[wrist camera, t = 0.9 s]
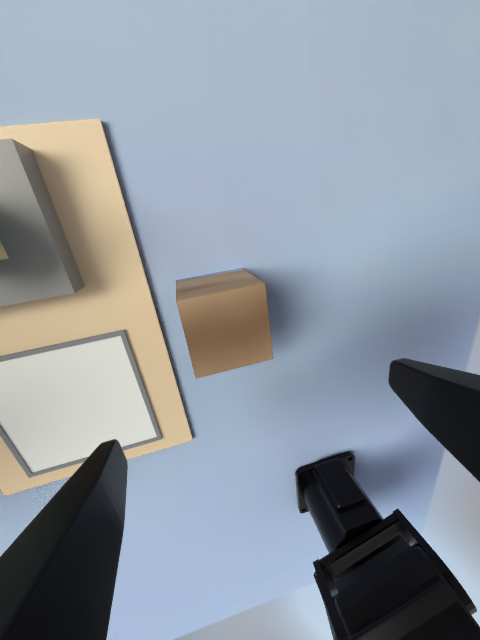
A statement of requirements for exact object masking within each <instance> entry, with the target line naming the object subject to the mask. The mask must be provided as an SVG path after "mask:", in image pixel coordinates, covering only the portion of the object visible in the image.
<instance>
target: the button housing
mask: <svg viewBox="0 0 480 640" xmlns="http://www.w3.org/2000/svg"><path fill="white" fill-rule="evenodd" d="M0 241H1V243H2V245H3V247H4V249H5V252H6V254H7V256H8V259H2V260H0V307H3V306H8V305H13V304H19V303H24V302H30V301H35V300H40V299H46V298H51V297H56V296H62V295H67V294H72V293H76V292H77V291H79V290H80V289H81V288H83V287H84V286H85V285H84V282H83V280H82V277H81V274H80V272H79V269H78V267H77V264H76V262H75V259H74V256H73V254H72V251H71V249H70V246H69V243H68V241H67V238H66V236H65V233H64V231H63V228H62V225H61V223H60V220H59V218H58V215H57V213H56V210H55V207H54V205H53V202H52V200H51V197H50V194H49V192H48V189H47V187H46V184H45V182H44V179H43V176H42V174H41V171H40V169H39V166H38V164H37V161H36V158H35V156H34V153H33V151H32V149H31V148H29V147H27V146H25V145H23V144H21V143H19V142H17V141H15V140H14V139H12V138H11V139H0Z"/></svg>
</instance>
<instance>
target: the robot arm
mask: <svg viewBox="0 0 480 640" xmlns="http://www.w3.org/2000/svg"><path fill="white" fill-rule="evenodd" d="M389 385H390V387H391V388H392V390H393V391H394V392H395V393H396V394H397V395H398V397H399V398H400V399H401V400H402V401H403V402H404V404H405V405H406V406H407V407H408V408H409V410H410V411H411V412H412V413H413V414H414V415H415V417H416V418H417V419H418V420H419V421H420V422H421V424H422V425H423V426H424V427H425V428H426V429H427V430H428V431H429V432H430V433H431V434H432V435H433V436H434V437H435V438H436V439H437V440H438V441H439V442H440V443H441V444H442V445H443V446H444V447H445V448H446V449H447V450H448V451H449V452H450V453H451V454H452V455H453V456H454V457H455V458H456V459H457V460H458V461H459V462H460V463H461V464H462V465H463V466H464V467H465V468H466V469H467V470H468V471H469V472H470V473H471V474H472V475H473V476H474V477H475V478H476V479H477V480H478V481H479V482H480V375H477V374H472V373H468V372H463V371H459V370H454V369H450V368H445V367H441V366H437V365H432V364H428V363H423V362H419V361H414V360H410V359H405V358H401V359H397V360H394V361H392V362H391V364H390V370H389ZM354 460H355V457H354V455H353V454H352V453H351V452H347V453H344V454H341V455H338V456H335V457H332V458H330V459H327V460H324V461H321V462H318V463H315V464H312V465H309V466H306V467H303V468H300V469H298V470H297V471H296V472H295V476H296V488H297V499H298V508H299V511H300V513H305V512H308V511H310V514H311V516H312V518H313V520H314V522H315V524H316V526H317V528H318V531H319V533H320V535H321V537H322V539H323V541H324V543H325V546H326V548H327V550H328V552H329V554H328V555H327V556H325V557H323V558H322V559H320V560H319V559H318V560H316V561H314V562H313V564H314V567H315V570H316V571H315V573H314V578H315V580H316V583H317V585H318V588H319V590H320V593H321V595H322V599H323V601H324V605H325V608H326V612H327V616H328V619H329V623H330V628H331V631H332V635H333V639H334V640H480V627H479V625H478V624H477V622H476V621H475V620H474V618H473V617H472V614H474V613H475V612H476V611H477V609H476V607H475V605H474V604H473V602H472V600H471V599H470V597H469V596H468V594H467V593H466V591H465V590H464V589H463V587H462V586H461V584H460V583H459V582H458V580H457V579H456V577H455V576H454V575H453V574H452V572H451V571H450V570H449V568H448V567H447V566H446V565H445V563H444V562H443V561H442V560H441V559H440V557H439V556H438V555H437V554H436V552H435V551H434V550H432V548H431V547H430V545H429V544H428V543H427V542H426V541H425V540H424V538H423V537H422V536H421V535H420V534H419V533H418V531H417V530H416V529H415V528H414V527H413V526H412V525H411V523H410V522H409V521H408V520H407V519H406V518H405V516H404V515H403V514H402V513H401V512H400V511H399V509H396V510H395V511H393V514H391V515H389V516H388V517H386V518H385V519H383V518H382V516H381V515H380V513H379V512H378V511H377V509H376V508H375V506H374V505H373V503H372V502H371V501H370V499H369V498H368V496H367V495H366V494H365V492H364V491H363V489H362V488H361V487H360V485H359V484H358V482H357V481H356V479H355V478H354ZM127 469H128V466H127V459H126V457H125V454H124V452H123V450H122V448H121V445H120V443H119V441H118V440H117V439H113V440H109V441H105V442H103V443H101V444H100V445H99V446H98V447H97V448H96V449H95V450H94V451H93V452H92V454H91V455H90V456H89V457H88V458H87V459H86V460H85V461H84V463H83V464H82V465H81V466H80V467H79V468H78V469H77V471H76V472H75V473H74V474H73V475H72V476H71V477H70V478H69V480H68V481H67V482H66V483H65V484H64V485H63V486H62V488H61V489H60V490H59V491H58V492H57V493H56V494H55V495H54V497H53V498H52V499H51V500H50V501H49V502H48V503H47V505H46V506H45V507H44V508H43V509H42V510H41V511H40V512H39V514H38V515H37V516H36V517H35V518H34V519H33V520H32V522H31V523H30V524H29V525H28V526H27V527H26V528H25V529H24V531H23V532H22V533H21V534H20V535H19V536H18V537H17V539H16V540H15V541H14V542H13V543H12V544H11V545H10V546H9V548H8V549H7V550H6V551H5V552H4V553H3V554H2V556H1V557H0V640H106V638H107V632H108V625H109V619H110V613H111V606H112V600H113V594H114V588H115V581H116V575H117V569H118V562H119V556H120V550H121V544H122V537H123V530H124V520H125V504H126V486H127Z"/></svg>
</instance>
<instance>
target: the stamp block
mask: <svg viewBox="0 0 480 640" xmlns="http://www.w3.org/2000/svg"><path fill="white" fill-rule="evenodd" d="M176 302H177V306H178V310H179V314H180V318H181V322H182V326H183V330H184V334H185V338H186V341H187V345H188V349H189V353H190V357H191V361H192V365H193V369H194V373H195V377H196V379H197V378H200V377H204V376H208V375H212V374H216V373H220V372H224V371H228V370H231V369H235V368H239V367H243V366H247V365H251V364H255V363H259V362H263V361H266V360H270V359H273V352H272V342H271V333H270V323H269V314H268V304H267V295H266V285H265V283H264V282H263V281H261V280H260V279H258V278H257V277H255V276H254V275H252V274H251V273H249V272H247V271H246V270H244V269H243V268H238V269H233V270H228V271H223V272H217V273H212V274H207V275H202V276H196V277H191V278H186V279H181V280H176Z"/></svg>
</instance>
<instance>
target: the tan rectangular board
mask: <svg viewBox="0 0 480 640" xmlns="http://www.w3.org/2000/svg"><path fill="white" fill-rule="evenodd" d="M11 138H12V139H14V140H15V141H17V142H19V143H21V144H23V145H25V146H27V147H29V148H31V149H32V151H33V153H34V156H35V158H36V161H37V164H38V166H39V169H40V171H41V174H42V176H43V179H44V182H45V184H46V187H47V189H48V192H49V194H50V197H51V200H52V202H53V205H54V207H55V210H56V213H57V215H58V218H59V220H60V223H61V225H62V228H63V231H64V233H65V236H66V238H67V241H68V243H69V246H70V249H71V251H72V254H73V256H74V259H75V262H76V264H77V267H78V269H79V272H80V274H81V277H82V280H83V282H84V285H85V286H84V287H83V288H81V289H80V290H79V291H77V292H76V293H72V294H67V295H62V296H56V297H51V298H46V299H40V300H35V301H30V302H24V303H19V304H13V305H8V306H3V307H0V490H1V491H2V493H3V494H4V495H5V496H7V495H10V494H14V493H17V492H20V491H24V490H27V489H30V488H34V487H37V486H41V485H44V484H47V483H51V482H54V481H57V480H61V479H64V478H67V477H71V476H72V475H73V474H74V473H75V472H76V471H77V469H78V468H79V467H80V466H81V465H82V464H83V463H84V461H85V460H86V459H87V458H88V457H89V456H90V455H91V454H92V452H93V451H94V450H95V449H96V448H97V447H98V446H99V445H100V444H101V443H103V442H105V441H109V440H113V439H117V440H118V441H119V443H120V445H121V448H122V450H123V452H124V454H125V457H126V459H127V460H128V459H131V458H135V457H138V456H141V455H145V454H148V453H152V452H155V451H158V450H162V449H165V448H168V447H172V446H175V445H179V444H182V443H185V442H189V441H192V440H193V438H192V434H191V431H190V427H189V424H188V420H187V417H186V413H185V410H184V406H183V403H182V399H181V396H180V393H179V389H178V386H177V382H176V379H175V375H174V372H173V368H172V365H171V361H170V358H169V354H168V351H167V347H166V344H165V340H164V337H163V334H162V330H161V327H160V323H159V320H158V316H157V313H156V309H155V306H154V302H153V299H152V295H151V292H150V288H149V285H148V282H147V278H146V275H145V271H144V268H143V264H142V261H141V257H140V254H139V250H138V247H137V243H136V240H135V236H134V233H133V229H132V226H131V223H130V219H129V216H128V212H127V209H126V205H125V202H124V198H123V195H122V191H121V188H120V184H119V181H118V177H117V174H116V170H115V167H114V164H113V160H112V157H111V153H110V150H109V146H108V143H107V139H106V136H105V132H104V129H103V125H102V122H101V120H100V118H99V119H86V120H74V121H62V122H50V123H37V124H25V125H13V126H0V139H11ZM2 259H8V256H7V254H6V252H5V249H4V247H3V245H2V243H1V241H0V260H2Z"/></svg>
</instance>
